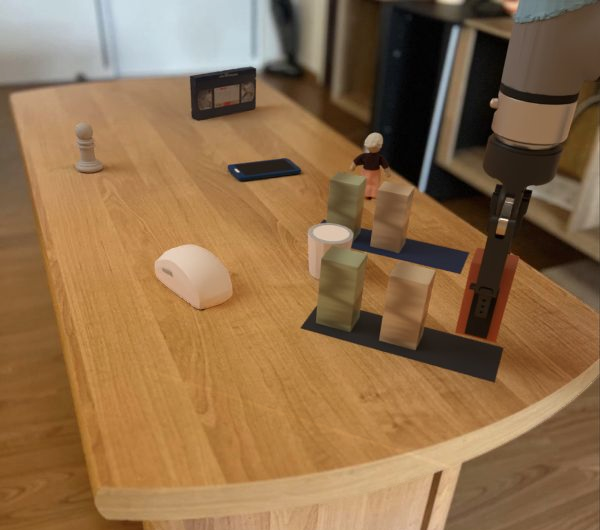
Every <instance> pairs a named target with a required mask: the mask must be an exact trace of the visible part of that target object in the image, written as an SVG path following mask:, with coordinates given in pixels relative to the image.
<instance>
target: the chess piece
mask: <svg viewBox="0 0 600 530" xmlns="http://www.w3.org/2000/svg"><path fill="white" fill-rule="evenodd" d="M74 133H75V136H76V138H77V139H76V143H77V145H76V146H77V148H78V149H79V154H80V159H79V160H78V161H77V162H76V163H75V170H77V171H78V172H81V173H86V174H89V173H97V172H100V171H101V170H103V168H104V163H103V162H102V161H101V160H99V159H97V158H96V153H95V147H96V144H95V139H94V138H93V136H94V130H93V128H92V126H91V125H90V123H88V122H79V123H77V124H76V125H75V128H74Z"/></svg>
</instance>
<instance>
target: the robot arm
mask: <svg viewBox="0 0 600 530" xmlns="http://www.w3.org/2000/svg"><path fill="white" fill-rule="evenodd" d="M510 32H511V33H510V37H509V41H508V47H507V51H506V56H505V60H504V66H503V70H502V76H501V80H500V81H501V82H500V85H499V91H498V97H493V98H492V99H491V100H490V102H489V106H490V108H491V109H496V110H495V112H494V114H493V118H492V122H491V130H492V131H493V133H492V134H491V135H489V136H488V138H487V143H486V148H485V153H484V157H483V161H482V169H483V171H484V173H485V174H487V176H489V177H490V178H492V179H494V180H495V179H496V180H497V181H499V182H500V183H501V184H500V183H496V185H495V186H494V190H493V192H492V194H491V198H490V203H489V209H490V211H489V215H488V220H487V224H486V228H485V230H486V233H487V237H486V241H485V244H484V245H485V246H484V248H483V249H484V253H483V257H482V262H481V266H480V270H479V274H478V278H477V283H476V284H475V283H471V284H470V286H469V289H471V290H474V295H473V299H472V303H471V307H470V312H469V316H468V320H467V324H466V328H465V332H464V334H468V335H472V336H476V337H480V338H484V339H487V336H488V332H489V328H490V324H491V321H492V317H493V313H494V309H495V306H496V302H497V298H498V295H499V291H500V288H499V285H500V282H501V278H502V274H503V271H504V267H505V263H506V260H507V256H508V254H511V247H512V244H513V240H514V239H516V238H517V237H518V236H519V233H520V230H521V226H522V223H523V219H524V216H525V215H527V212H528V209H529V206H530V202H531V199H532V194H533V192H534V190H533V189H528V187H531V186H534V187H538V186H539V187H540V186H544V185H547V184H549V183H550V182H552V181H554V179H555V178H556V175H557V171H558V168H559V165H560V161H561V158H562V155H563V151H564V146H563V144H562V143H563V142H565V141H566V140H567V139H568V137H569V133H570V128H571V126H572V122H573V119H574V116H575V112H576V109H577V105H578V102H579V96H580V92H581V89H582V86H583V84H584V82H585V81H586V82H587V81H589V82H596V83H600V0H519V1H518V4H517V7H516V11H515V14H513V22H512V27H511V31H510Z"/></svg>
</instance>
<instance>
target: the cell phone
mask: <svg viewBox="0 0 600 530" xmlns="http://www.w3.org/2000/svg"><path fill="white" fill-rule="evenodd" d="M227 170H228V171H229V172H230V173H231V174H232V175H233V176H234V177H235V179H237V180H238V181H240V182H245V181H253V180H261V179H269V178H276V177H277V178H278V177H284V176H291V175H299V174H301V173H302V169H301V167H300V166H298V165H297V164H296V163H295V162H294V161H292V160H291V159H289V158H287V157H282V158H274V159H266V160H265V159H263V160H257V161H249V162H240V163H239V162H238V163H231V164H228V165H227Z"/></svg>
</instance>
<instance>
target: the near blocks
mask: <svg viewBox="0 0 600 530" xmlns="http://www.w3.org/2000/svg"><path fill="white" fill-rule="evenodd" d="M368 255H369V254H368V253H366V252H362V251H358V250H354V249H351V250H348V249H344V248H340V247H336V246H331V247H330V248H329V250H328V251H327V252H326V253H325V255H324V256H323V257H322V258H321V267H320V279H318V294H317V304H316V306H317V316H316V323H318V324H321V325H325V326H328V327H332V328H336V329H339V330H343V331H347V332H351V331H352V329H353V327H354V326H355V324H356V322H357V321H358V319H359V317H360V310H362V309H361V307H362V301H363V292H364V285H365V277H366V272H367V264H368ZM436 273H437V270H436V269H434V268H430V267H426V266H421V265H417V264H413V263H409V262H404V261H400V260H398V261H397V262H396V264H395V265H394V267H393V268H392V270H391V272H390V273H389V275H388V282H387V287H386V293H385V300H384V307H383V313H382V316H383V319H382V325H381V331H380V338H379V341H383V342H386V343H390V344H394V345H397V346H401V347H405V348H408V349H412V350H416V349H417V346H418V344H419V342H420V340H421V337H422V335H423V331H424V327H426V321H427V316H428V310H429V307H430V302H431V297H432V294H433V293H432V292H433V288H434V283H435V278H436Z"/></svg>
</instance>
